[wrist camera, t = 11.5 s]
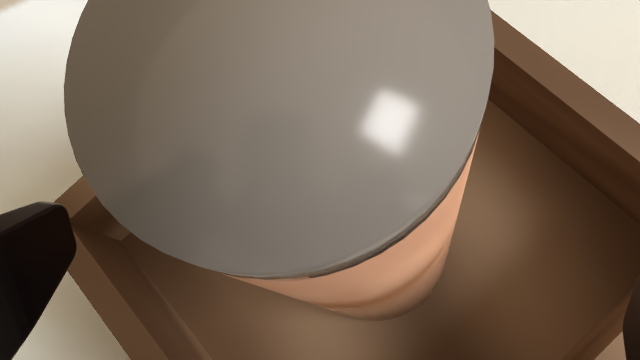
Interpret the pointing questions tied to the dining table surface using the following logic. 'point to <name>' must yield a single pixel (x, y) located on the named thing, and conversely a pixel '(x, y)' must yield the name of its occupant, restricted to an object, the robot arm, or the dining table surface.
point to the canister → (286, 136)
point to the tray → (462, 259)
